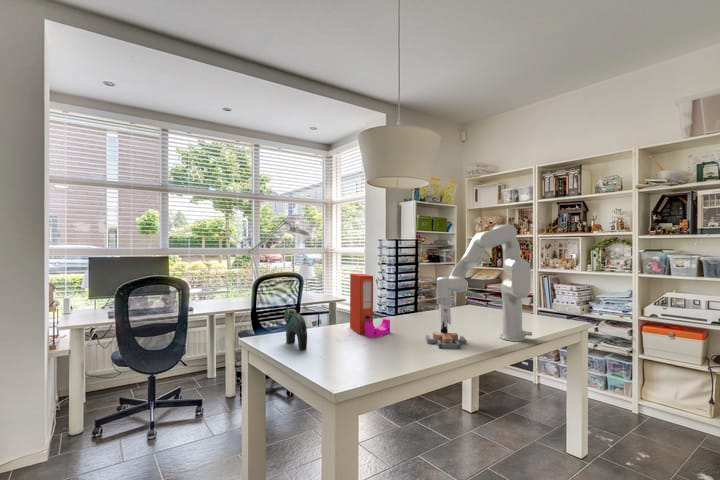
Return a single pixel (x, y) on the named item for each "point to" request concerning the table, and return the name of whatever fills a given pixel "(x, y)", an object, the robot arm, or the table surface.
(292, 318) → the dark green animal figurine
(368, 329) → the toy block
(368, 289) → the file binder
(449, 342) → the T block
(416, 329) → the table surface
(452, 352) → the table surface
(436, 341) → the T outline
